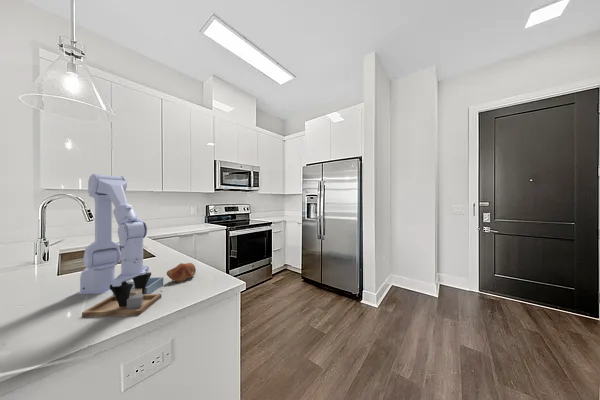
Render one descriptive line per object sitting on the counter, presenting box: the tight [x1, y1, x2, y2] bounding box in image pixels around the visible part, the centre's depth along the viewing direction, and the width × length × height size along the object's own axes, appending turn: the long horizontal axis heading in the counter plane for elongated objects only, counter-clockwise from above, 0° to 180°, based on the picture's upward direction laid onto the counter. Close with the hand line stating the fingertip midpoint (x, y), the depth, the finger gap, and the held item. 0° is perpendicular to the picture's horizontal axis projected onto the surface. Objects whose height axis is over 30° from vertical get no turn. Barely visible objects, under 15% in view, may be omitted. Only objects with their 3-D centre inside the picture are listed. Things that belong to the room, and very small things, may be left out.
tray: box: [81, 293, 162, 318], centre depth 72 cm, size 16×12×2 cm
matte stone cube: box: [127, 294, 143, 310], centre depth 70 cm, size 4×3×4 cm
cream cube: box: [126, 289, 142, 307], centre depth 73 cm, size 4×3×4 cm
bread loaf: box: [166, 262, 197, 283], centre depth 97 cm, size 13×8×10 cm
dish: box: [112, 276, 164, 295], centre depth 84 cm, size 11×11×4 cm
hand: (132, 300), depth 73 cm, fingers open, 7 cm apart
